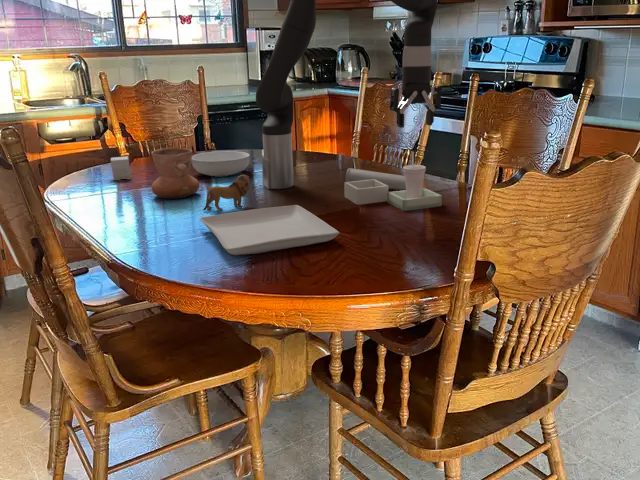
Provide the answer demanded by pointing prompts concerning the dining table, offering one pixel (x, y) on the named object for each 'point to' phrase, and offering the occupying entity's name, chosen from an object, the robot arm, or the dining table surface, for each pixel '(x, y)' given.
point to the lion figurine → (229, 192)
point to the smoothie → (414, 179)
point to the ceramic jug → (173, 173)
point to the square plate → (268, 229)
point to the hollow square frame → (366, 191)
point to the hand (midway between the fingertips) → (415, 126)
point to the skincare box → (120, 168)
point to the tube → (377, 178)
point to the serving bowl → (220, 162)
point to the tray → (414, 200)
